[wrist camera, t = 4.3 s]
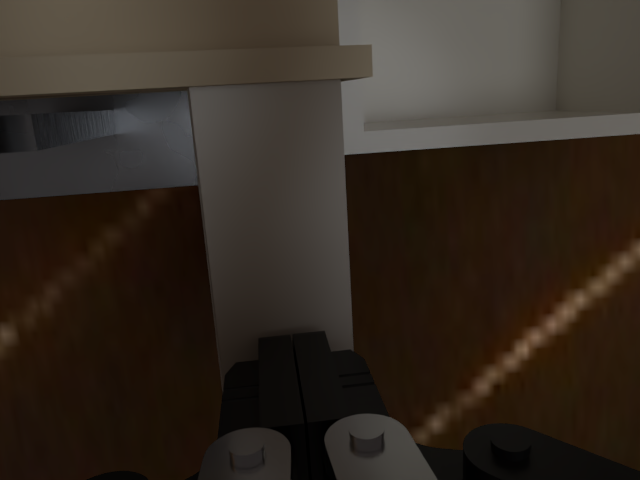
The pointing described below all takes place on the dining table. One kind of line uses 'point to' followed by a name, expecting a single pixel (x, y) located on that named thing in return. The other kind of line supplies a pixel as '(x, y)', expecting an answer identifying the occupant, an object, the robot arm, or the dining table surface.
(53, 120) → the stand
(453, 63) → the open grey tray box
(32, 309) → the dining table surface
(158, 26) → the chute
